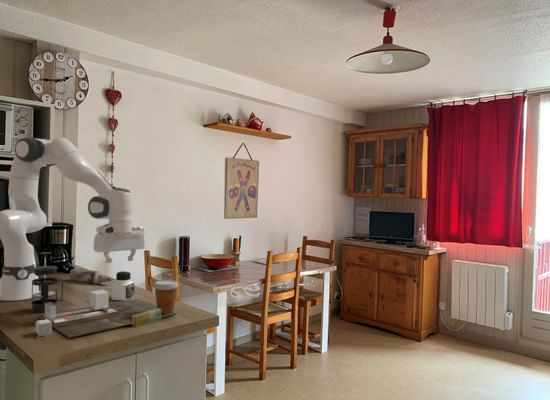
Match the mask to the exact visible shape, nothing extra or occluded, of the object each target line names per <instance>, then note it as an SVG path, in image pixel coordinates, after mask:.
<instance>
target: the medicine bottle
mask: <svg viewBox="0 0 550 400" xmlns="http://www.w3.org/2000/svg"><path fill="white" fill-rule="evenodd" d="M131 276H132V275H131V272H130V271H125V270H124V271H123V270H121V271H118V272H117V273H116V275H115V278H116V279H115V281H116V282H113V283H112V284H111V298H110V299H111V300H114V301H121V302H123V301H128V300H130V299H133V298H135V281H131Z"/></svg>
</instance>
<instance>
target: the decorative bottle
mask: <svg viewBox="0 0 550 400" xmlns="http://www.w3.org/2000/svg"><path fill="white" fill-rule="evenodd" d="M69 278H70V280H72V281H74V280H75V282H76V281H77V282H82V283H89V284H93V285H99V283H100V284H102V283H108V282H112V281H113V278H112V277H111V276H107V275H106V274H104V273H103V272H102V271H96V270H93V269H92V270H91V269H85V268H78V267H75V268H73V269H71V270H70V272H69Z"/></svg>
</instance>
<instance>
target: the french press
mask: <svg viewBox="0 0 550 400" xmlns="http://www.w3.org/2000/svg"><path fill="white" fill-rule="evenodd" d="M51 254H52V252H48V251H47V252H46V251H43V252H40V253H39V255H43V258H44V265H40V266H36V267H34V268H32V270H34V271H35V272H34V274H35V275H37V276H44V277H41V278H40V277H38V279H34V280H32V298H31V299H33V298H37V299H36V300H31V305H30V306H31V307H30V308H31V309H30V312H31V313H33V314H45V303H47V302H52V303H53V304H55V305H56V311H57V310H58V302H63V301H64V300H63V299H64V298H63V296H64V295H63V294H64V293H63V292H64V289H63V288H64V279H63V278H57V277H47V276H49V275H55V274H57V270H58V269H59V267H58V266H56V265H47V264H46V263H47V257H48V255H51ZM58 281H61V283H60V284H61V290H60V292H61V293H60V299H58ZM33 285H35V286H38V287H39V286H40V287H41V288H40V291H41V292H38V293H34V294H33ZM51 285H56V286H55V287H56V288H55V289H56V290H55V291H51V290H50V291H49V286H51ZM54 296H55V298H52V297H54Z"/></svg>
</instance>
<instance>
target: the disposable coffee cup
mask: <svg viewBox="0 0 550 400" xmlns="http://www.w3.org/2000/svg"><path fill="white" fill-rule="evenodd" d="M153 287H154V291H155V292H154V293H155V302H156V308H160V309H162V313H163V314H162V315H165V314H167V313H168V314H172V313H173V312H174V309H175V303H176V296H177V291H178V290H177V288H178V287H179V284H178V281H177V280H173V279H162V280H157V281H155V282H154V284H153ZM168 314H167V315H168Z"/></svg>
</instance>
